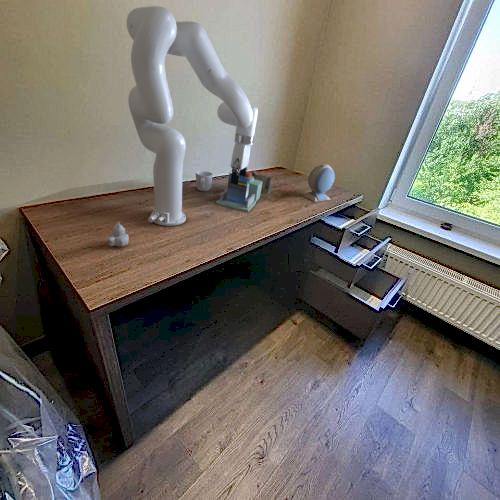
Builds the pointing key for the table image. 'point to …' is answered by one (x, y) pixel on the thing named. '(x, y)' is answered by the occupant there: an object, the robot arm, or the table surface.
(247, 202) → the drip tray
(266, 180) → the architectural model on board
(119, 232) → the grey lumpy cone shape
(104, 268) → the table surface
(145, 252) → the table surface
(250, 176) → the button
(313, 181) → the alarm clock
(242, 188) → the label tape box
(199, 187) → the cup
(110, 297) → the table surface
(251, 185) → the red push button box
